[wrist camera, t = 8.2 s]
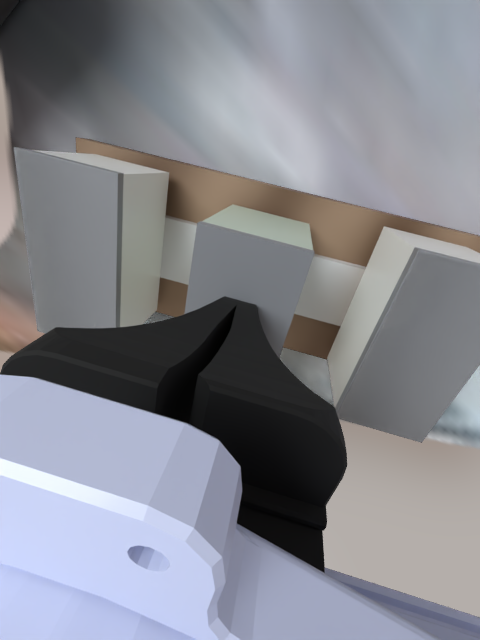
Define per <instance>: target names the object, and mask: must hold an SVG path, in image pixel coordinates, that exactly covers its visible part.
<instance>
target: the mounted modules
mask: <svg viewBox="0 0 480 640" xmlns="http://www.w3.org/2000/svg"><path fill="white" fill-rule="evenodd" d="M14 154H15V162H16V169H17V177H18V185H19V192H20V200H21V207H22V215H23V223H24V230H25V238H26V246H27V253H28V261H29V269H30V276H31V284H32V292H33V299H34V307H35V314H36V322H37V330H38V331H39V332H43V333H47V332H49V331H50V330H52V329H54V328H55V327H63V328H117V327H128V326H136V325H142V324H143V323H144V322H145V321H146V320H147V319H148V318H149V317H150V316H151V315H153V314H154V313H155V312H156V311H157V305H158V294H159V283H160V271H161V260H162V249H163V238H164V227H165V215H166V204H167V193H168V182H169V172H165V171H161V170H157V169H153V168H149V167H145V166H141V165H137V164H133V163H129V162H125V161H121V160H117V159H113V158H109V157H105V156H101V155H97V154H86V153H70V152H55V151H40V150H30V149H26V148H20V147H14ZM327 360H328V367H329V374H330V381H331V388H332V395H333V402H334V407H335V409H336V412H337V416H338V418H339V419H342V420H345V421H349V422H352V423H356V424H359V425H363V426H366V427H370V428H373V429H376V430H380V431H383V432H387V433H390V434H394V435H397V436H401V437H404V438H407V439H411V440H415V441H418V442H421V443H422V441H423V440H424V439H425V437H426V436H427V435H428V433H429V432H430V431H431V429H432V428H433V427H434V425H435V424H436V423H437V421H438V420H439V419H440V417H441V416H442V415H443V413H444V412H445V411H446V409H447V408H448V407H449V405H450V404H451V402H452V401H453V400H454V398H455V397H456V396H457V394H458V393H459V392H460V390H461V389H462V388H463V386H464V385H465V384H466V382H467V381H468V380H469V378H470V377H471V376H472V374H473V373H474V372H475V370H476V369H477V367H478V366H479V365H480V253H478V252H476V251H474V250H472V249H470V248H468V247H464V246H460V245H456V244H452V243H448V242H444V241H440V240H436V239H433V238H429V237H425V236H421V235H417V234H413V233H409V232H405V231H401V230H397V229H393V228H389V227H385V226H384V227H383V230H382V232H381V234H380V237H379V239H378V241H377V243H376V246H375V248H374V250H373V253H372V255H371V257H370V260H369V262H368V264H367V267H366V269H365V271H364V274H363V276H362V278H361V280H360V283H359V285H358V287H357V290H356V292H355V294H354V297H353V299H352V301H351V304H350V306H349V308H348V311H347V313H346V315H345V317H344V320H343V322H342V324H341V327H340V329H339V331H338V334H337V336H336V338H335V341H334V343H333V345H332V348H331V350H330V352H329V354H328V357H327Z"/></svg>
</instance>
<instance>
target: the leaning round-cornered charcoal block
mask: <svg viewBox="0 0 480 640" xmlns="http://www.w3.org/2000/svg"><path fill="white" fill-rule="evenodd" d="M19 1H20V0H0V26H1V25H2V23H3V22H4V21H5V19H6V18H7V17H8V15H9V14H10V13H11V11H12V10H13V9H14V7H15V6H16V5H17V3H18V2H19Z"/></svg>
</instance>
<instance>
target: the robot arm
mask: <svg viewBox="0 0 480 640" xmlns="http://www.w3.org/2000/svg"><path fill="white" fill-rule="evenodd" d="M346 467H347V453H346V447H345V441H344V436H343V432H342V429H341V425H340V422H339V419H338V416H337V412H336V409H335V407H333V406H332V405H330V404H329V403H328V402H326V401H325V400H324V399H322V398H321V397H319V396H318V395H317V394H315V393H314V392H312V391H311V390H310V389H309V388H307V387H306V386H305V385H304V384H303V383H302V382H301V381H299V380H298V379H297V378H296V377H295V376H294V375H293V374H292V373H291V372H290V371H289V369H288V368H287V367H286V366H285V365H284V364H283V363H282V361H281V360H280V359H279V358H278V356H277V355H276V353H275V352H274V350H273V349H272V347H271V345H270V343H269V341H268V339H267V337H266V335H265V333H264V330H263V328H262V325H261V322H260V318H259V314H258V307H257V306H256V305H255V304H251V303H247V302H244V301H240V300H237V299H233V298H229V297H226V296H224V297H222V298H220V299H218V300H216V301H214V302H212V303H210V304H208V305H206V306H203V307H201V308H199V309H197V310H194V311H191V312H189V313H186V314H184V315H181V316H178V317H175V318H171V319H168V320H164V321H160V322H155V323H149V324H142V325H136V326H128V327H117V328H63V327H55V328H54V329H52V330H50V331H49V332H47V333H46V334H44V335H43V336H41V337H40V338H38V339H37V340H35V341H34V342H32V343H31V344H29V345H27V346H26V347H24V348H23V349H21V350H20V351H18V352H17V353H15V354H14V355H12V356H11V357H10V358H9V359H8V360H7V361H6V362H5V363H4V364H3V367H2V370H1V373H0V640H480V617H477V616H473V615H470V614H467V613H464V612H461V611H458V610H455V609H452V608H449V607H446V606H442V605H439V604H436V603H433V602H430V601H427V600H424V599H421V598H418V597H415V596H411V595H408V594H405V593H402V592H399V591H396V590H393V589H390V588H386V587H384V586H380V585H377V584H374V583H371V582H368V581H364V580H362V579H358V578H355V577H352V576H349V575H346V574H343V573H340V572H337V571H334V570H330V569H328V568H325V567H324V552H323V536H322V530H324V529H325V528H326V524H327V518H326V504H327V502H328V501H329V499H330V498H331V496H332V494H333V493H334V491H335V490H336V488H337V486H338V485H339V483H340V481H341V480H342V478H343V476H344V473H345V470H346Z"/></svg>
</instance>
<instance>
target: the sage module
mask: <svg viewBox="0 0 480 640" xmlns="http://www.w3.org/2000/svg"><path fill="white" fill-rule="evenodd" d="M314 254H315V253H314V250H313V245H312V239H311V232H310V226H309V224H308V223H304V222H300V221H296V220H292V219H288V218H284V217H280V216H277V215H273V214H269V213H265V212H261V211H257V210H253V209H249V208H245V207H241V206H237V205H231V206H229V207H227V208H225V209H224V210H222V211H220V212H218V213H216V214H214V215H213V216H211V217H209V218H207V219H205V220H203V221H200V222H198V223H197V228H196V235H195V242H194V249H193V256H192V263H191V270H190V277H189V284H188V291H187V299H186V306H185V313H184V314H186V313H189V312H191V311H194V310H197V309H199V308H201V307H203V306H206V305H208V304H210V303H212V302H214V301H216V300H218V299H220V298H222V297H224V296H226V297H229V298H233V299H237V300H240V301H244V302H247V303H251V304H255V305H256V306H257V307H258V314H259V318H260V322H261V325H262V328H263V330H264V333H265V335H266V337H267V339H268V341H269V343H270V345H271V347H272V349H273V350H274V352H275V353H276V355H277V356H278V358H279V357H280V354H281V351H282V348H283V345H284V342H285V339H286V336H287V333H288V330H289V327H290V324H291V322H292V319H293V316H294V313H295V310H296V307H297V304H298V301H299V298H300V295H301V292H302V289H303V286H304V283H305V280H306V277H307V275H308V272H309V269H310V266H311V263H312V260H313V257H314Z"/></svg>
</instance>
